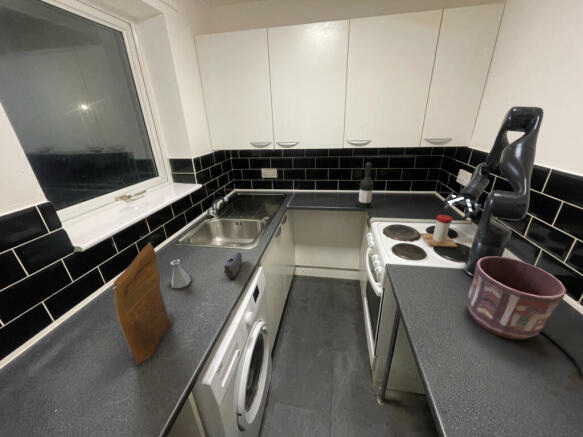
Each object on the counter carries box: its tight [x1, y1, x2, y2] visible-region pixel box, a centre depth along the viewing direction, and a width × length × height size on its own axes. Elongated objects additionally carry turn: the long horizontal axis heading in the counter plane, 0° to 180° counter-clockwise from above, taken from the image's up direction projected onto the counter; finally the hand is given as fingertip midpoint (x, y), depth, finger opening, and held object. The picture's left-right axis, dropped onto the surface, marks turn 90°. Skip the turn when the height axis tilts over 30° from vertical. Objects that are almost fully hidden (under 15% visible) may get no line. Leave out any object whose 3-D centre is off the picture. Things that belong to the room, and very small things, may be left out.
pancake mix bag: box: [111, 242, 172, 366], centre depth 63 cm, size 7×19×28 cm, turn 179°
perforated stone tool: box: [223, 251, 243, 279], centre depth 96 cm, size 15×5×7 cm, turn 172°
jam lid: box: [436, 214, 453, 224], centre depth 109 cm, size 6×6×2 cm
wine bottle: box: [357, 162, 374, 210], centre depth 153 cm, size 8×8×30 cm
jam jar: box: [432, 220, 451, 242], centre depth 111 cm, size 6×6×12 cm
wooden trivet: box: [420, 232, 459, 249], centre depth 113 cm, size 12×12×1 cm
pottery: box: [466, 256, 567, 341], centre depth 65 cm, size 18×18×18 cm
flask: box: [170, 259, 192, 289], centre depth 89 cm, size 7×7×10 cm
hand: (454, 214), depth 110 cm, fingers open, 8 cm apart
